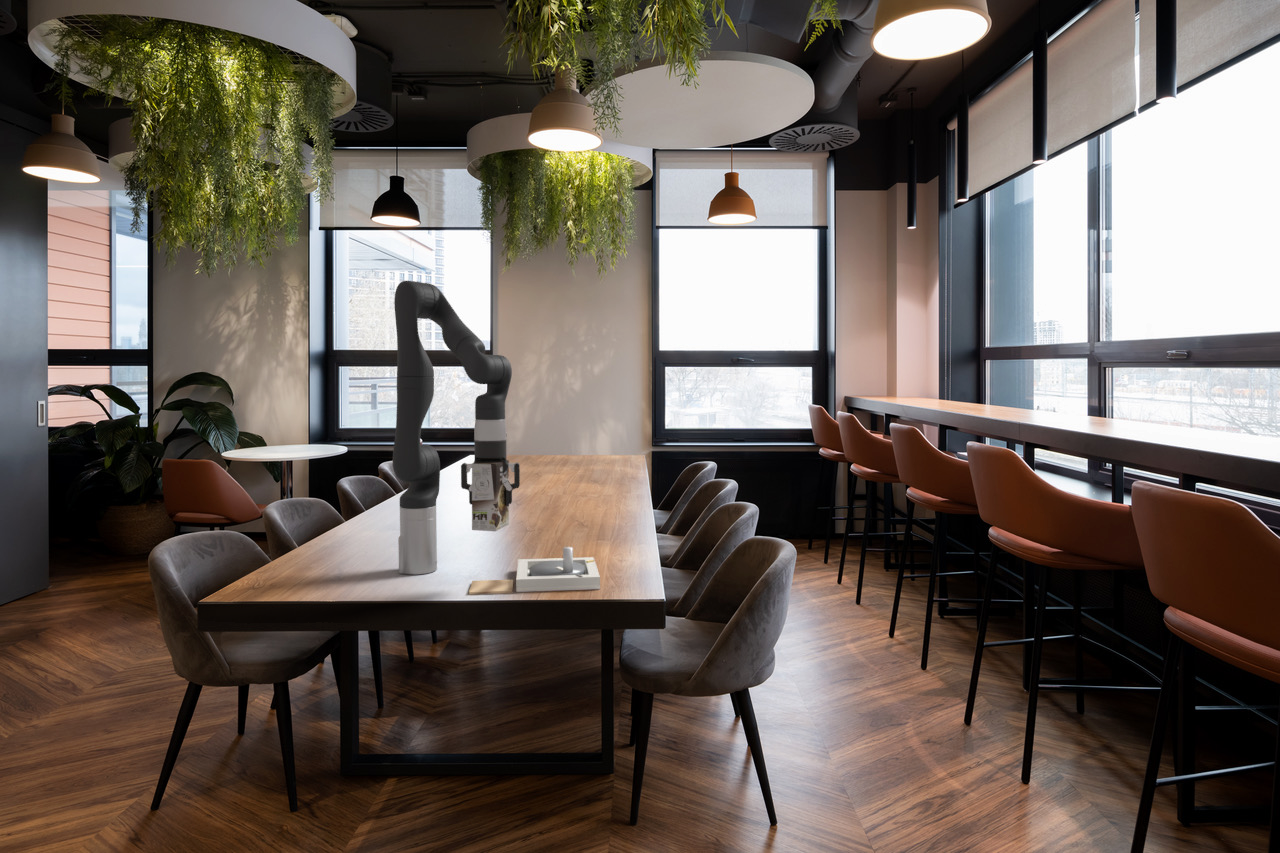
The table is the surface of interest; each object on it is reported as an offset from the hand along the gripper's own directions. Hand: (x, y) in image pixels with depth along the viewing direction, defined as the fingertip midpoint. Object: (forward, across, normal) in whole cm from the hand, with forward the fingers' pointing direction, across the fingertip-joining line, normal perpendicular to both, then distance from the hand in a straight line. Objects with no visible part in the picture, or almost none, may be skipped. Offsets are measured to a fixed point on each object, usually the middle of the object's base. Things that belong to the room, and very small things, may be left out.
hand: (490, 506), depth 178 cm
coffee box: (+6, 0, 0) cm, 6 cm away
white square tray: (+20, +16, +6) cm, 26 cm away
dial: (+19, +16, +6) cm, 25 cm away
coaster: (+20, 0, 0) cm, 20 cm away
